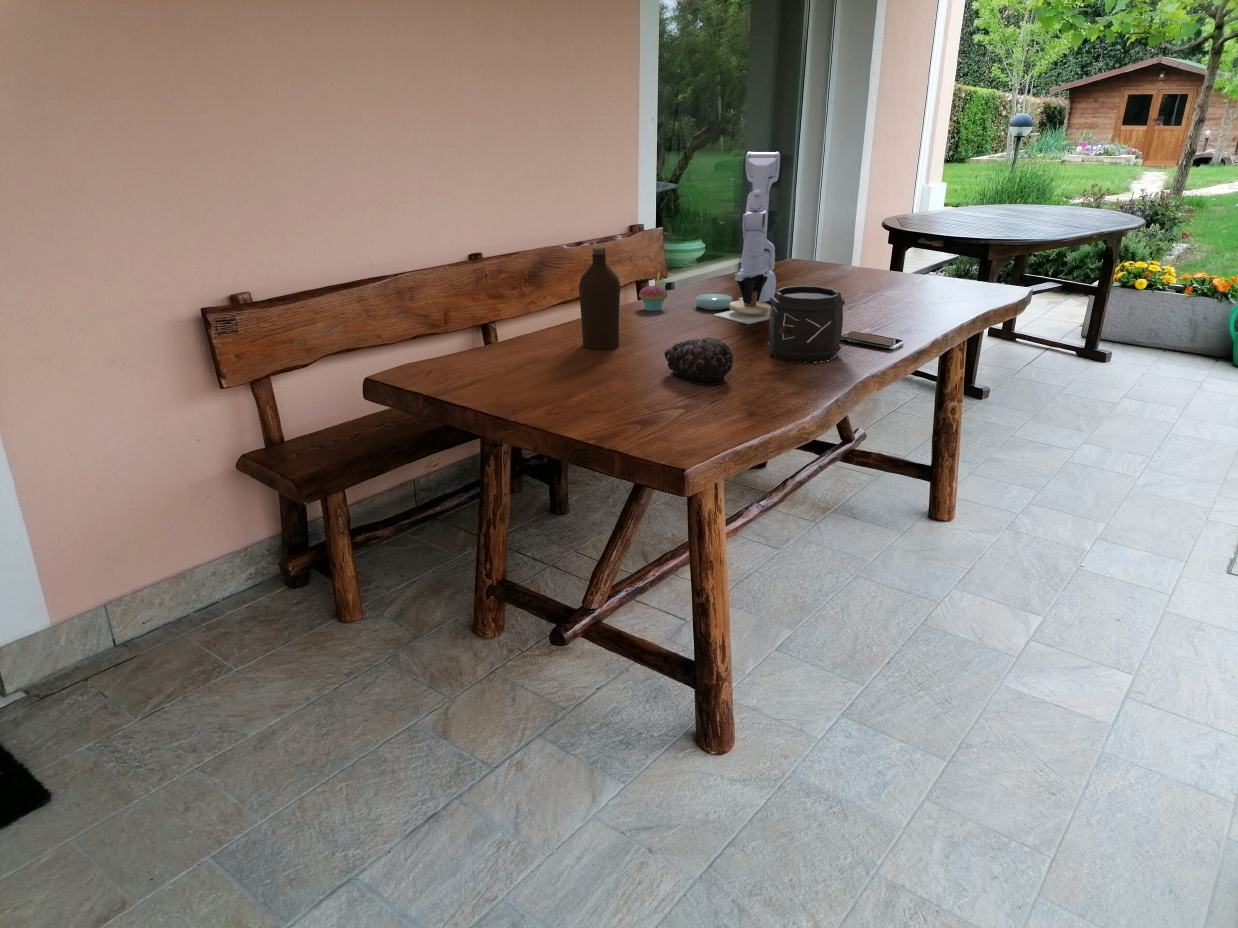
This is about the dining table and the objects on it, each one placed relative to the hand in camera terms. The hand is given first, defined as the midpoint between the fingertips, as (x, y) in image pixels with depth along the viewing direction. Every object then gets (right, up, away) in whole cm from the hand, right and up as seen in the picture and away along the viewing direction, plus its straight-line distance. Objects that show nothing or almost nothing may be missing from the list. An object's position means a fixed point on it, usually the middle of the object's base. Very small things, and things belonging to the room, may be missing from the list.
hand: (751, 302), depth 259 cm
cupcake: (-28, 0, +11) cm, 30 cm away
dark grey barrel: (+7, -20, -38) cm, 44 cm away
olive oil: (-43, -17, -27) cm, 54 cm away
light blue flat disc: (-10, 0, +11) cm, 15 cm away
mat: (0, -4, +1) cm, 4 cm away
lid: (0, -2, +1) cm, 2 cm away
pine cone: (-21, -28, -55) cm, 65 cm away
